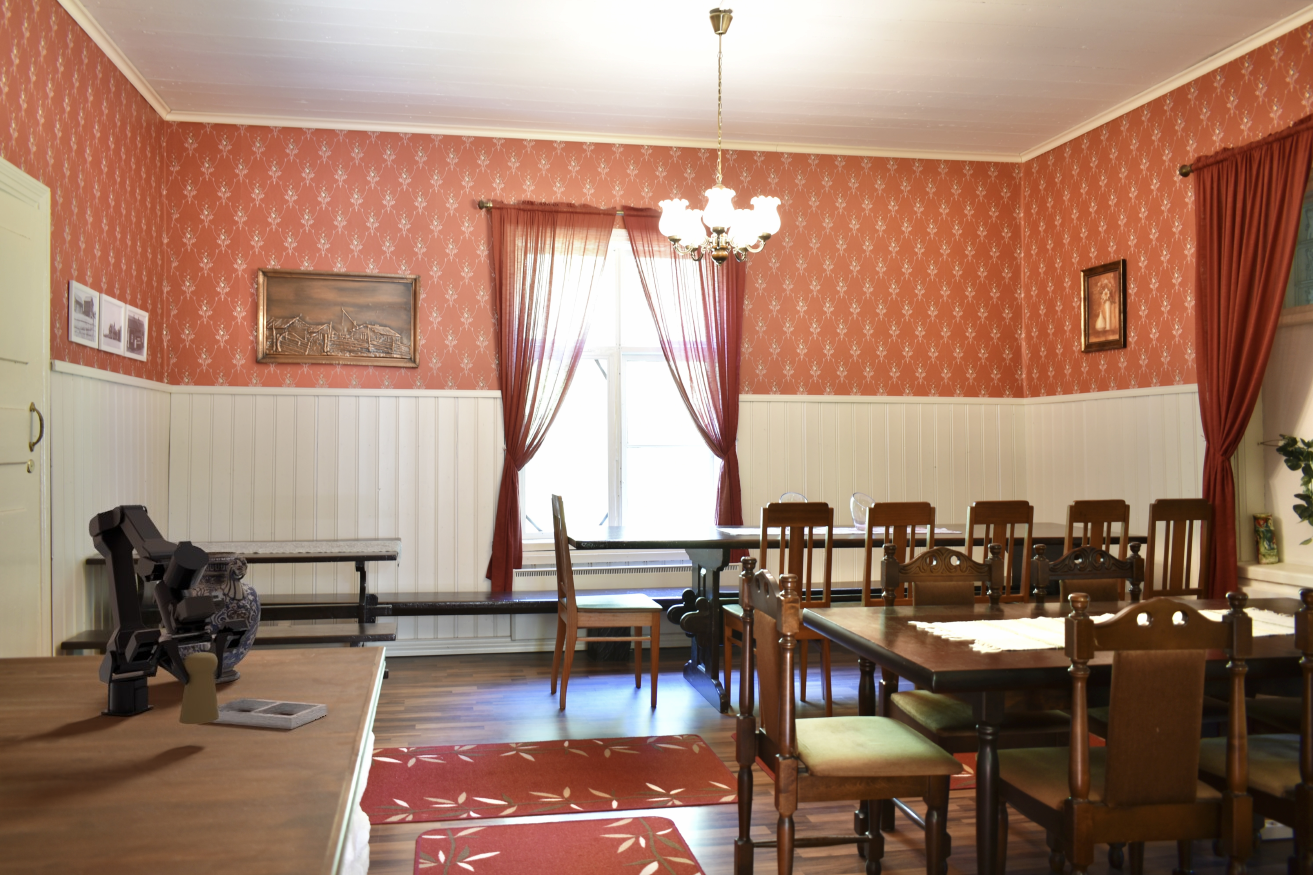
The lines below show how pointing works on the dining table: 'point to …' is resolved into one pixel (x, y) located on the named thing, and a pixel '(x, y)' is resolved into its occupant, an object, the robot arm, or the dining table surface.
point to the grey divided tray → (269, 713)
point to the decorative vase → (228, 606)
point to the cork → (200, 689)
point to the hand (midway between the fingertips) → (203, 680)
